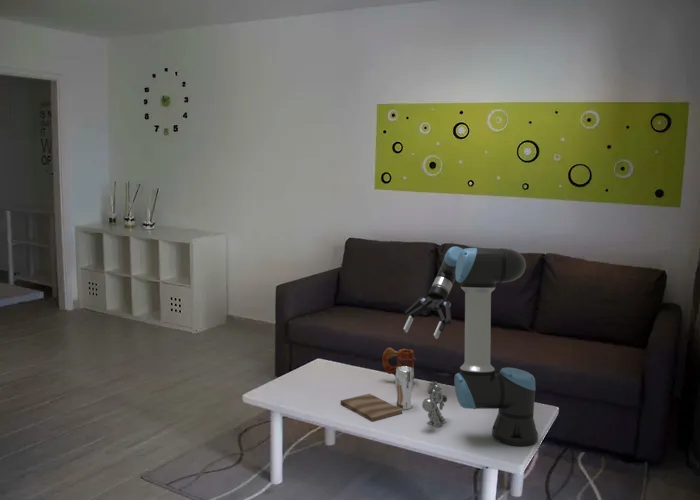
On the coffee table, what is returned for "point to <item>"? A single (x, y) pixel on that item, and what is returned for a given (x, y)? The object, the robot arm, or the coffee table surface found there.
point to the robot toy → (434, 404)
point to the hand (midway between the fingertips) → (420, 334)
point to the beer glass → (404, 386)
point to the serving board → (371, 407)
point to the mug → (398, 359)
